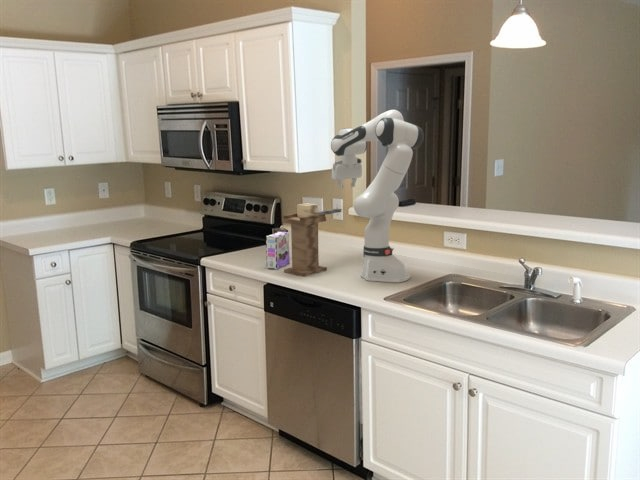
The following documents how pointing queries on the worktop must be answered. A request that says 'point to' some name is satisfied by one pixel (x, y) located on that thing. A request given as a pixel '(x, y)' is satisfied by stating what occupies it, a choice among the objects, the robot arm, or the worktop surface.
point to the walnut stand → (304, 244)
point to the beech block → (312, 210)
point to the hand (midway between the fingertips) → (347, 187)
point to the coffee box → (279, 230)
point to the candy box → (277, 250)
